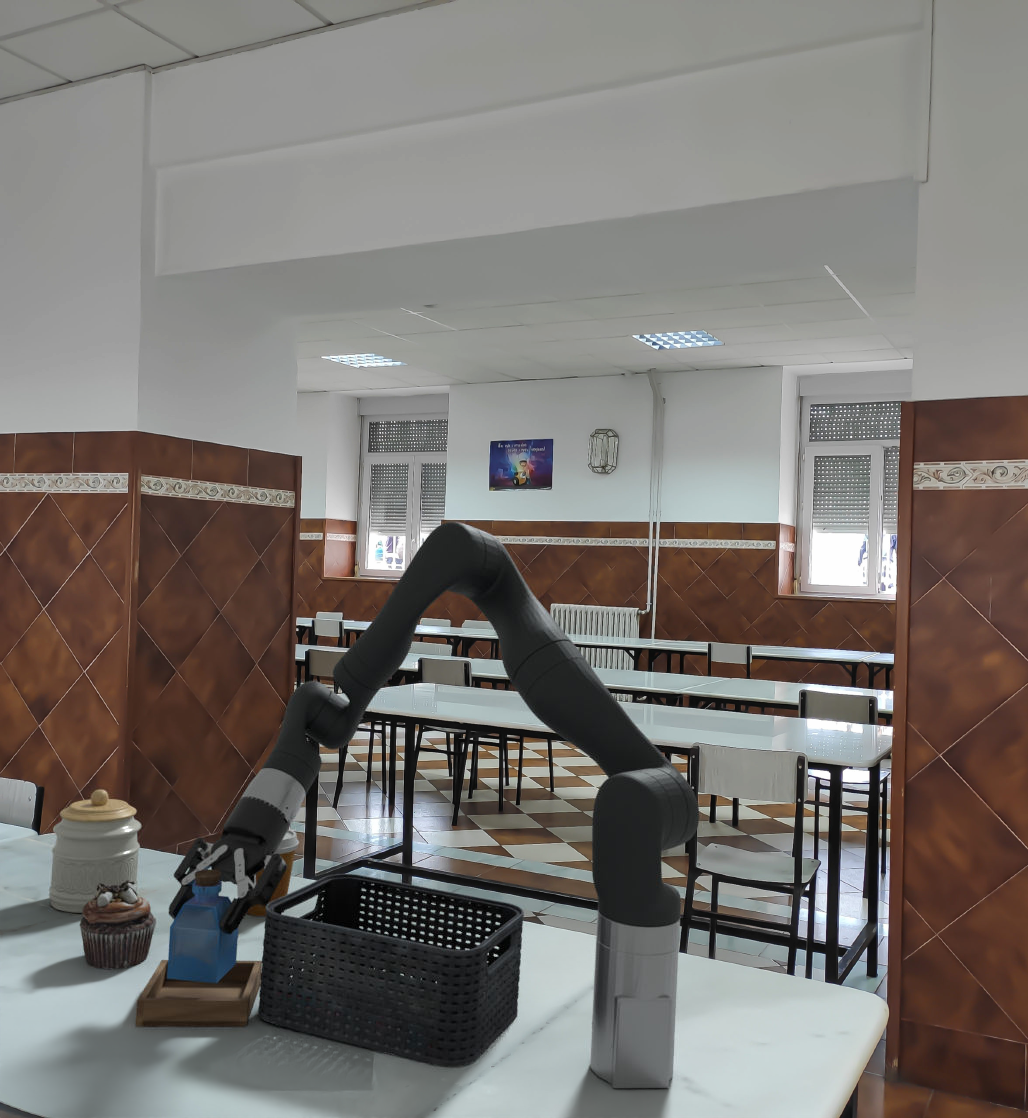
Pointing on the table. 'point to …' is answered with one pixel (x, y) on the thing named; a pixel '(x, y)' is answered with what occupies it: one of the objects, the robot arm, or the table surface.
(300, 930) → the storage bin
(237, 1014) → the tray
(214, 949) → the perfume bottle
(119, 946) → the cupcake
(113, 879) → the jar
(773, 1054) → the table surface
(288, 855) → the disposable coffee cup
